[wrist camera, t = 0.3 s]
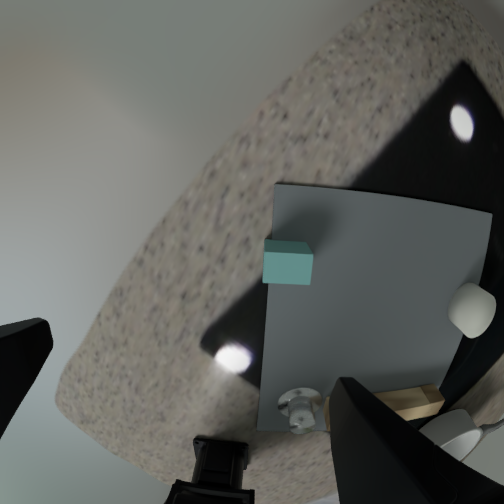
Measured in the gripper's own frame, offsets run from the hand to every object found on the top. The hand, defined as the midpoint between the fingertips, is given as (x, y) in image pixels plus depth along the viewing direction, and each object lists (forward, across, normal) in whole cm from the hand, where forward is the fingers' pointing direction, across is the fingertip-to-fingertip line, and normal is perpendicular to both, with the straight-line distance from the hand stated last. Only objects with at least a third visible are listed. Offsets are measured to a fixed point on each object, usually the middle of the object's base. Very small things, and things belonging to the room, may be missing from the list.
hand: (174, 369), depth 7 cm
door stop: (+14, -23, +2) cm, 27 cm away
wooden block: (+14, -17, +14) cm, 26 cm away
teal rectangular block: (+14, -4, 0) cm, 15 cm away
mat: (+14, -14, +7) cm, 21 cm away
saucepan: (+15, -35, +22) cm, 44 cm away
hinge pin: (+14, -8, +15) cm, 22 cm away
